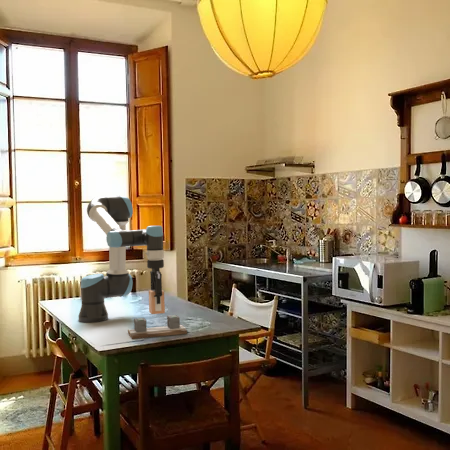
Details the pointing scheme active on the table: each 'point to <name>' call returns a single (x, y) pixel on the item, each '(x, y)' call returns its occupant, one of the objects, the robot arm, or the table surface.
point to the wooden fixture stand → (157, 328)
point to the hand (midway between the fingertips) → (156, 309)
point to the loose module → (152, 303)
